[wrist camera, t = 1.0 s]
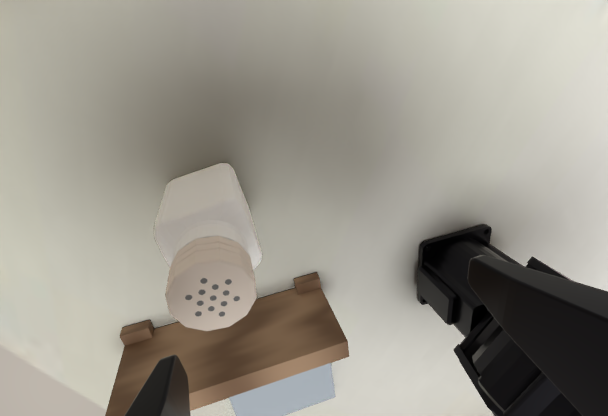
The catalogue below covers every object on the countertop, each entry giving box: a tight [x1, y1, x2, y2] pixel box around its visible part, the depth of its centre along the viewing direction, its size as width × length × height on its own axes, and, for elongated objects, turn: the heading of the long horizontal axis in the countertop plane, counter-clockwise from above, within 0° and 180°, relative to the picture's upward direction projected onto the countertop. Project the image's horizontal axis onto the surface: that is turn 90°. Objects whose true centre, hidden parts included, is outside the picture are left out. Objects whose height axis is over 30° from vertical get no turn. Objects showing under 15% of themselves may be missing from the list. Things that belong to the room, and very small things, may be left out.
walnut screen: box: [105, 272, 349, 416], centre depth 21 cm, size 14×3×6 cm, turn 98°
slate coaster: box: [229, 363, 335, 416], centre depth 28 cm, size 9×9×1 cm
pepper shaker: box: [154, 163, 262, 331], centre depth 16 cm, size 4×4×10 cm
